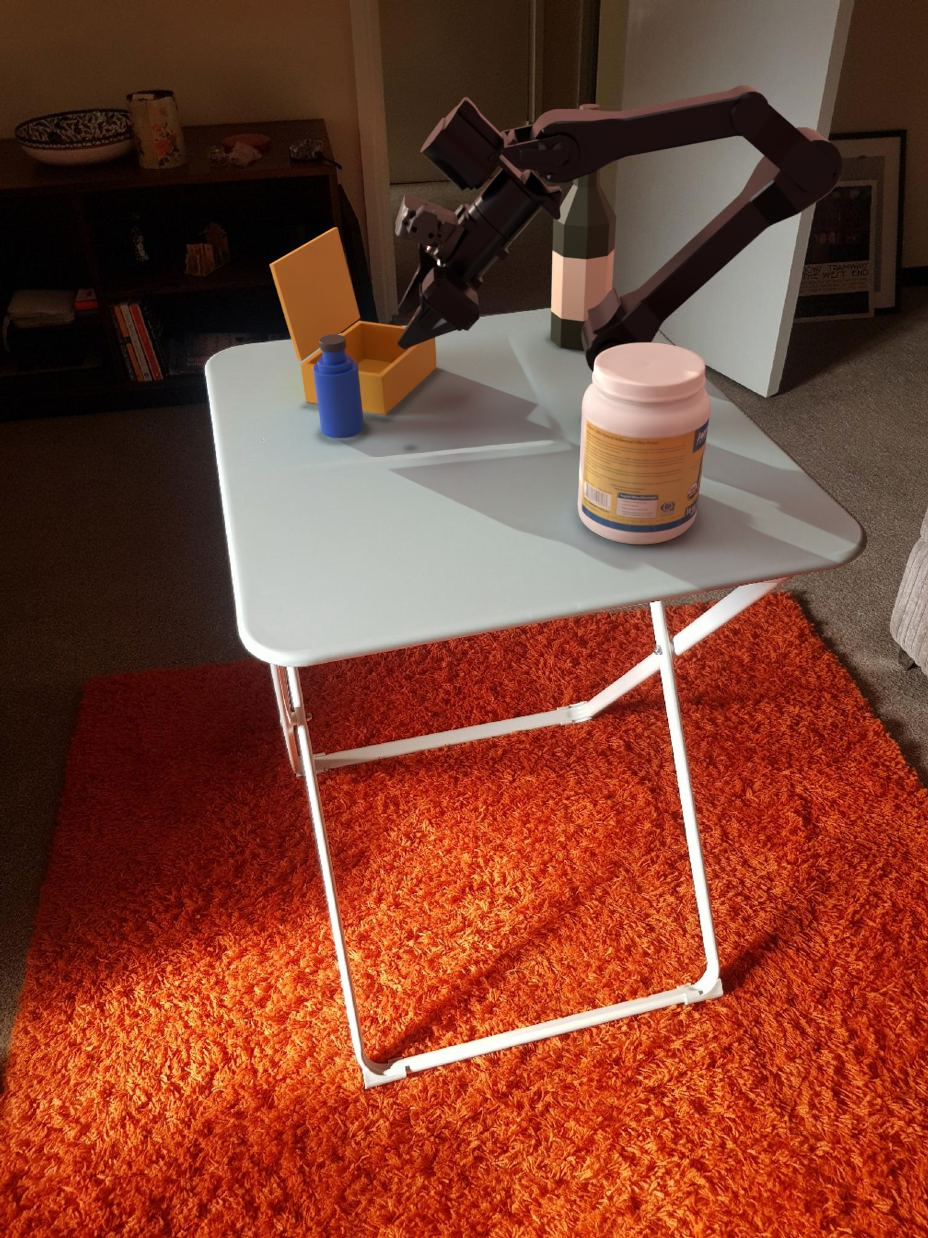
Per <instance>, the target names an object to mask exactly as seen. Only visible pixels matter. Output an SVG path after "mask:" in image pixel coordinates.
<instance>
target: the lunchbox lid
mask: <svg viewBox="0 0 928 1238" xmlns="http://www.w3.org/2000/svg"><path fill="white" fill-rule="evenodd" d="M269 268H270V270H271V274H272V278H273V281H274V286H275V288H276V291H277V295H278V299H279V302H280V305H281V308H282V312H283V314H284V319H285V322H286V325H287V328H288V332H289V336H290V338H291V343H292V345H293V349H294V352H295V355H296V356H295V357H296V359H297V361H298V362H304V361H305V360H306V359H308V358H309V357H310V356H312V355H313V354H315V353H316V352H317V351H319V350H320V344H319V340H320V338H322V337H324V336H327V335H340V334H342V333H343V332H344V331H346V330H347V329H348V328H350V327H351V326H352V325H354V324H355V323H356V322H358V321H359V320H360V319H361V315H360V311H359V307H358V303H357V300H356V299H357V298H356V296H355V291H354V288H353V284H352V280H351V276H350V272H349V268H348V263H347V259H346V255H345V252H344V247H343V244H342V241H341V237H340V232H339V228H338V227H332V228H331V229H329V230H327V231H325V232H324V233H322V234H320V235H319V236H316V237H315V238H313V239H312V240H310V241H308V242H306V243H305V244H303V245H301V246H300V247H298V248H296V249H294V250H292V251H291V252H289V253H286V255H284V256H282V257H280V258H279V259H277V260H275V261H273V262H272V263H270V264H269Z"/></svg>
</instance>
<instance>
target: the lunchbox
mask: <svg viewBox="0 0 928 1238" xmlns="http://www.w3.org/2000/svg"><path fill="white" fill-rule="evenodd" d="M405 328H406V326H401V325H394V324H393V325H392V324H386V323H378V322H371V321H363V320H357V321H356V322H354V323H353V324H352V325H350V326H349V327H348V328H346V329H345V330H344V331H342V332H341V333H340V335H342V336H344V337H345V339H346V348H345V354H346V355H349V356H350V357H351V358H352V360H353V361H355V362H356V363H357V364H358V371H359V381H360V390H361V400H362V410H363V413H370V414H375V415H382V416H386V415H387V414H388V413H389V412H390V411H391V410H392V409H394V407H395V406H397V405H398V404H399V403H400V402H401V401H402V400H403V399H404V398H405V397H406V396H407V395H409V394H410V393H411V392H412V391H413V390H414V389H415V388H416V387H417V386H418V385H420V383H422V382H423V381H424V380H425V379H426V378H427V377H428V376H429V375H430V374H431V373H432V372H434V370H435V369H437V367H438V365H437V364H438V363H437V347H436V345H437V344H436V337H435V338H432V339H430V340H427V341H425V342H422V343H420V344H417V345H415V346H412V347H410V348H407V349H403V348H401V347H400V346H399V345H398V344H397V342H398V340H399V338H400V336H401V335H402V333H403V331H404V330H405ZM321 357H323V353H322V351H321V349H320V348H319V349H318V350H317V351H315V352H314V353H313V354H311V355H310V356H309V357H307V358H306V359H305V360H303V361H302V363H300V369H301V370H300V372H301V378H302V385H303V392H304V399H305V402H306V403H311V404H317V405H318V402H317V394H316V387H315V379H314V372H313V367H314V366H315V365H316V364H317V363H318V359H319V358H321Z"/></svg>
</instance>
